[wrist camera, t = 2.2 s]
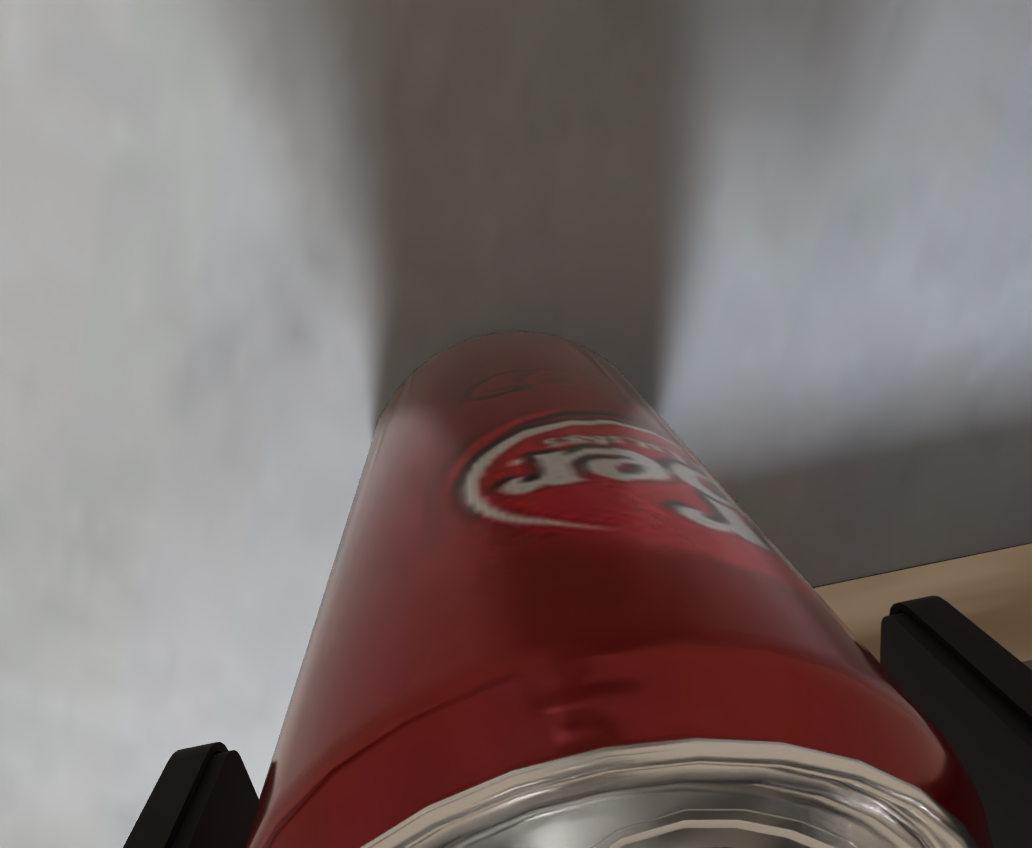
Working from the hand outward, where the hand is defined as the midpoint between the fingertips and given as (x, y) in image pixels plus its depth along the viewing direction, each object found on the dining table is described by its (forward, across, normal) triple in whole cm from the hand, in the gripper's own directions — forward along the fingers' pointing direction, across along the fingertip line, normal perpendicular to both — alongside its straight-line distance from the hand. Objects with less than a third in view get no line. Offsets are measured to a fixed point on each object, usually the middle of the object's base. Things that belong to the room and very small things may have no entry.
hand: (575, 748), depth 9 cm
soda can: (+8, 0, -1) cm, 9 cm away
